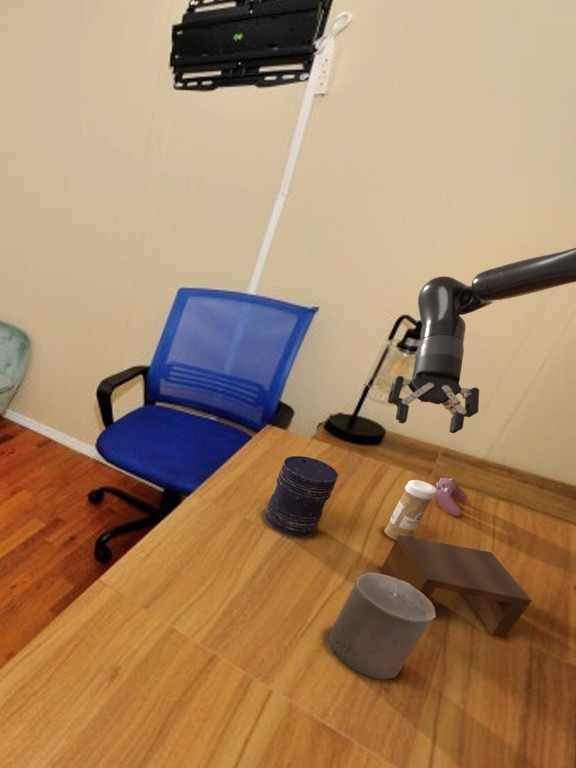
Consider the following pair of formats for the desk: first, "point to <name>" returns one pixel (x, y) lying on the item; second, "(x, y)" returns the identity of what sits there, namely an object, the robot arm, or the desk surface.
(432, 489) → the sprinkles bottle
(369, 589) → the pillar candle
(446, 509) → the video game controller
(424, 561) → the shelf
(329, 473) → the navy ridged cylinder
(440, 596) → the desk surface
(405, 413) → the robot arm
